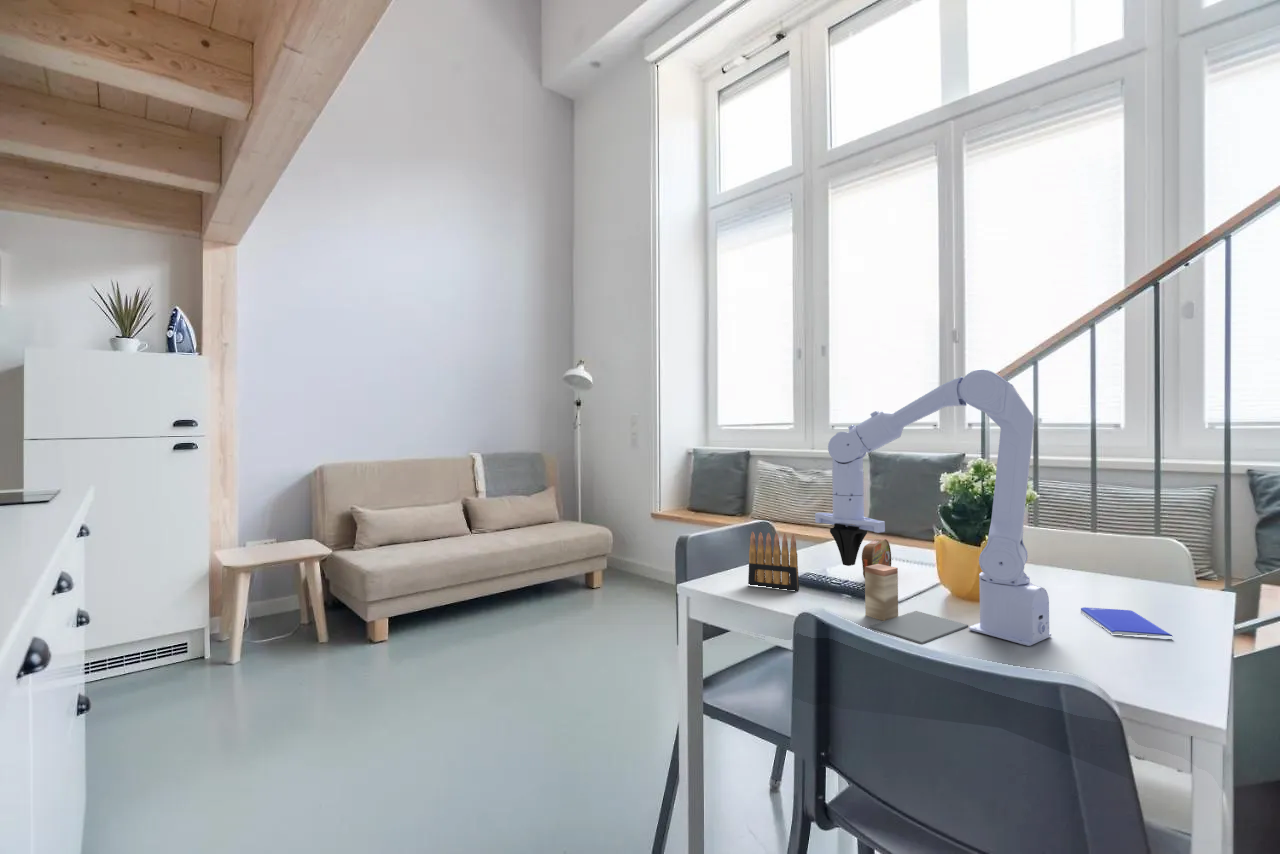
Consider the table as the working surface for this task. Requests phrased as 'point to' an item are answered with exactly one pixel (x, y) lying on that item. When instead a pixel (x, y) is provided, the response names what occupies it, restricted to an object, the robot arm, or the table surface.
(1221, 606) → the table surface
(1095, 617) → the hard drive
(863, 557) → the tin
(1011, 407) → the robot arm
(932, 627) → the mat
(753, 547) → the ammunition clip
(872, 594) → the block
